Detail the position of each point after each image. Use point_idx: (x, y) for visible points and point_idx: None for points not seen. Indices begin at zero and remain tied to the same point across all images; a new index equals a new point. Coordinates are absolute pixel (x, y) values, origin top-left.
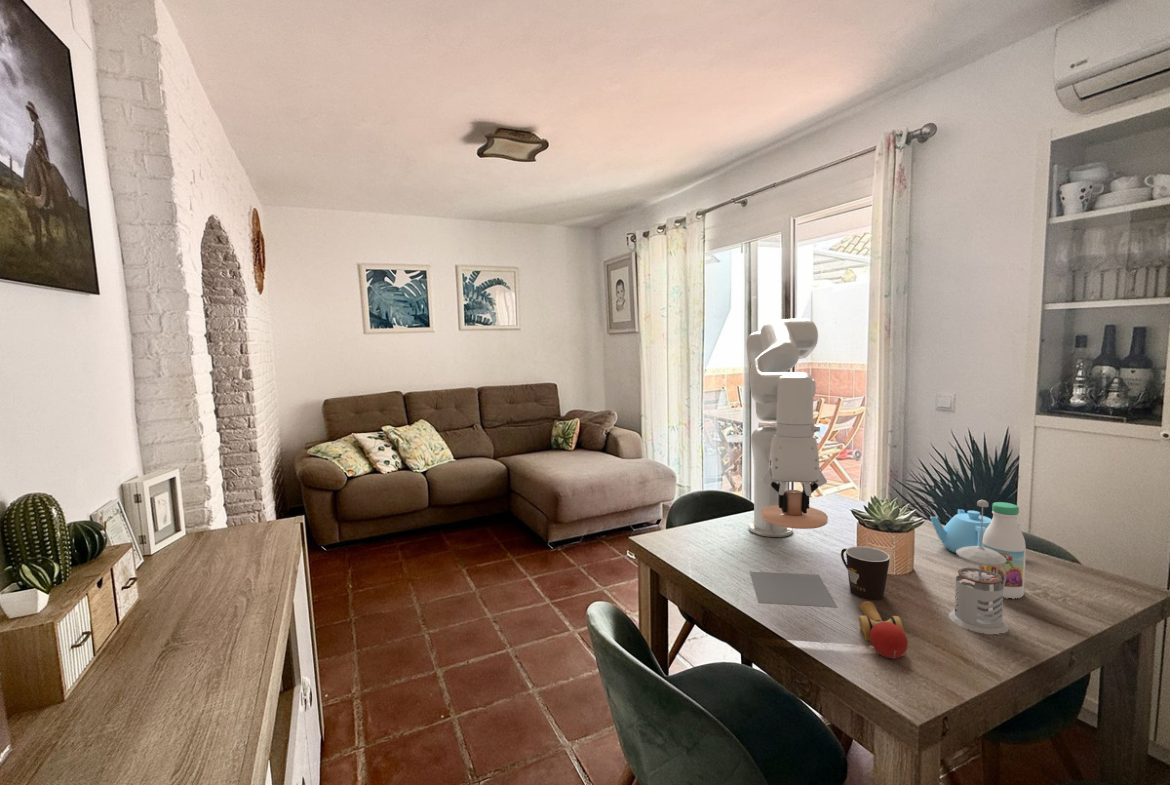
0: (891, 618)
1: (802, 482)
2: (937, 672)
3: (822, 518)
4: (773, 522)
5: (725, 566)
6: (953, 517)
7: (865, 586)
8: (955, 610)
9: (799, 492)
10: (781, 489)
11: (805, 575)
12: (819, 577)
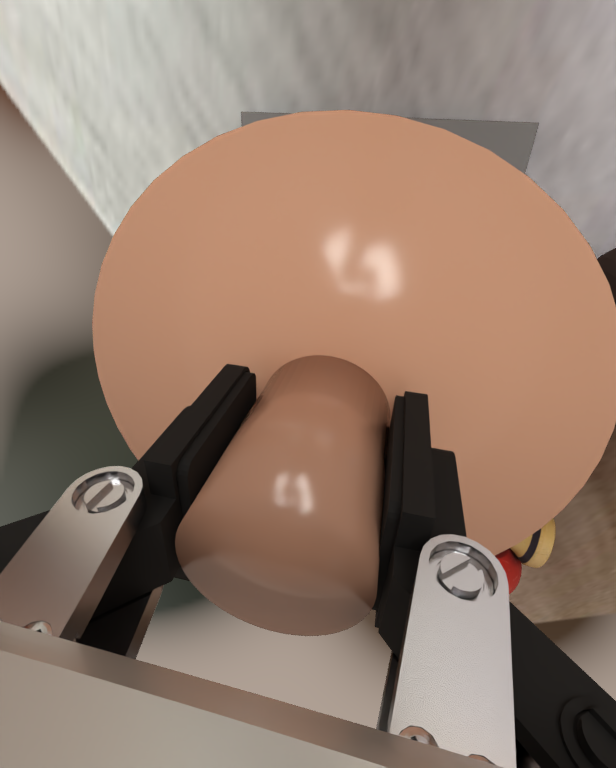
0: (528, 550)
1: (390, 722)
2: (534, 581)
3: (503, 523)
4: None
5: (153, 7)
6: None
7: None
8: None
9: (335, 600)
10: (107, 624)
11: (470, 136)
12: (525, 156)
